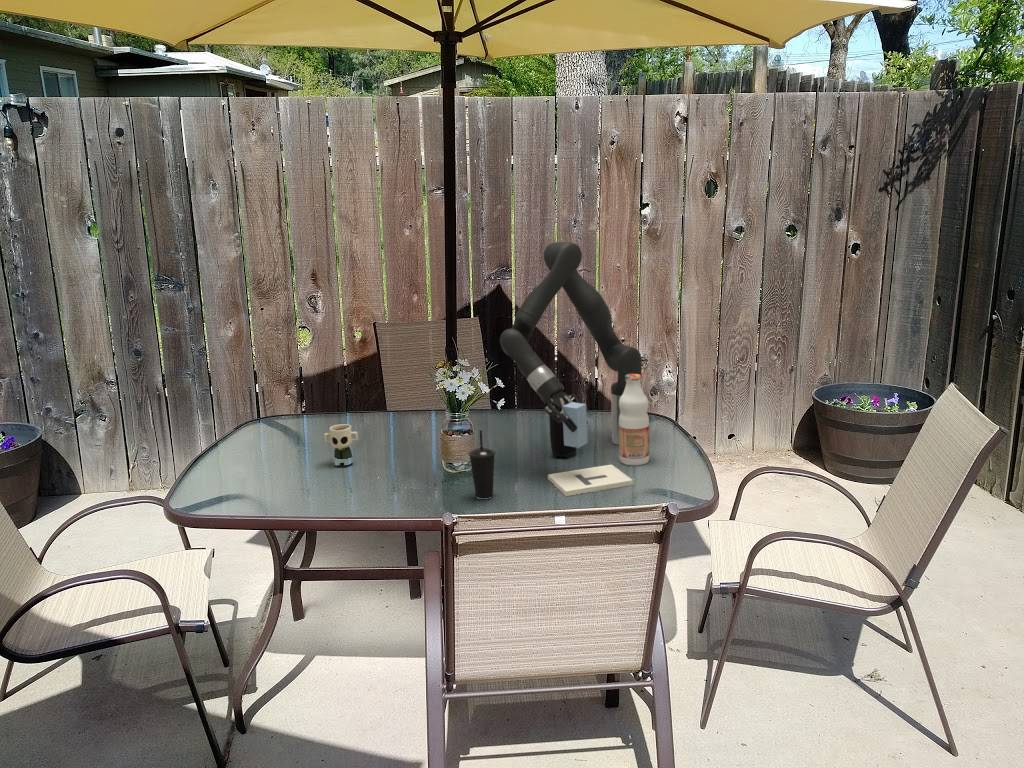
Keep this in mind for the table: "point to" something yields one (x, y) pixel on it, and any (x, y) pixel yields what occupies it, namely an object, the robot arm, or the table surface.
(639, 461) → the fruit juice
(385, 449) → the table surface
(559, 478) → the letter board
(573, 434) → the slate pillar
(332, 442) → the character mug
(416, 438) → the table surface
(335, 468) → the table surface
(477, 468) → the drinking cup
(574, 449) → the portable speaker
